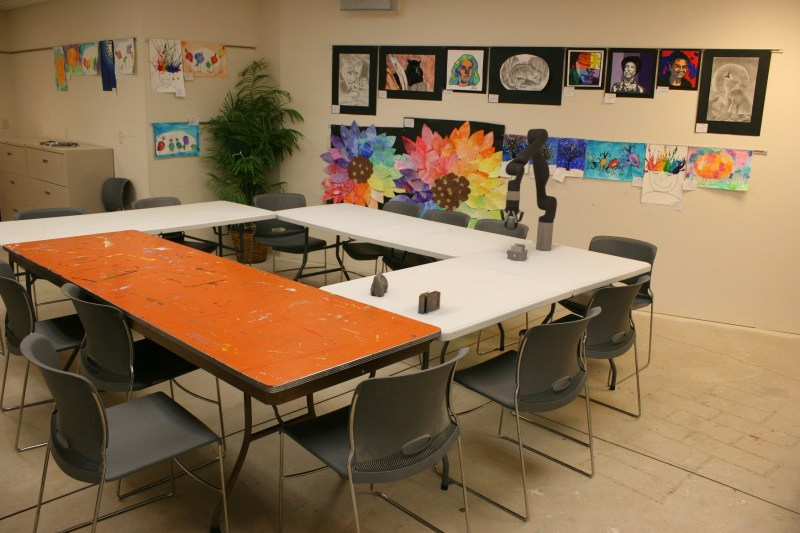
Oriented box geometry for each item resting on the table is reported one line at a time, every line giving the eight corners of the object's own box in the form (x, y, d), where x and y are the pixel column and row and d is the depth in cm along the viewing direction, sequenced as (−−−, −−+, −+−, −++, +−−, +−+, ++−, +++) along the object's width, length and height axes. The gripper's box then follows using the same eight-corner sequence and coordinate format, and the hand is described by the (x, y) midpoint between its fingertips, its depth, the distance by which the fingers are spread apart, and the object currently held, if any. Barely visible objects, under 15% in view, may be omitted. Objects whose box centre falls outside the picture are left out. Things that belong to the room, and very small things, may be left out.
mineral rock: (383, 288, 309) (384, 267, 307) (399, 293, 301) (400, 271, 299) (362, 292, 300) (362, 271, 298) (378, 298, 293) (379, 275, 290)
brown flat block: (424, 315, 272) (425, 292, 270) (418, 313, 274) (419, 290, 272) (440, 309, 281) (441, 287, 278) (434, 308, 282) (435, 286, 280)
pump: (507, 228, 387) (508, 216, 386) (515, 229, 385) (516, 217, 384) (505, 229, 383) (506, 217, 382) (513, 230, 381) (514, 218, 380)
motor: (508, 256, 392) (509, 242, 390) (526, 258, 388) (528, 244, 386) (503, 259, 381) (504, 245, 379) (521, 262, 377) (523, 248, 375)
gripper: (527, 199, 381) (524, 228, 385) (502, 196, 387) (500, 226, 390) (523, 200, 374) (521, 230, 378) (498, 198, 380) (496, 228, 384)
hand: (510, 228), depth 384 cm, fingers closed on pump, 4 cm apart
